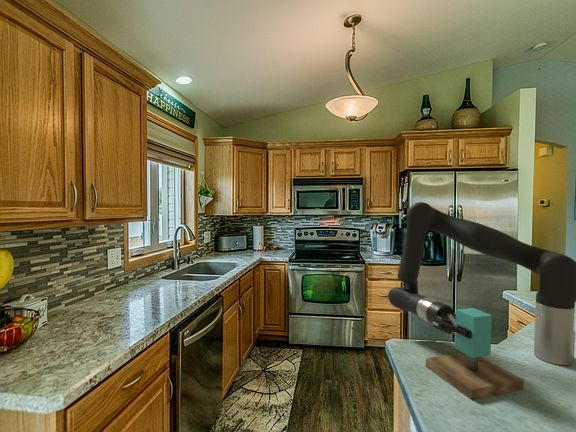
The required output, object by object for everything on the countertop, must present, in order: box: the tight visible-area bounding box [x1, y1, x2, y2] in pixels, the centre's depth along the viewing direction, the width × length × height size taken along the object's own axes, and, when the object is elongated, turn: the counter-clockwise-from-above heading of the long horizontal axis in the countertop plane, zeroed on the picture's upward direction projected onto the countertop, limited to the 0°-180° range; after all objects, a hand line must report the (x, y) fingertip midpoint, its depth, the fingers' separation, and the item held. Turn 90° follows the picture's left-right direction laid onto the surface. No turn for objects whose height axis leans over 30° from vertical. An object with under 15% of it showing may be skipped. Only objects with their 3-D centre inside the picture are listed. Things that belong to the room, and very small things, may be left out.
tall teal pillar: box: [454, 307, 493, 358], centre depth 85 cm, size 6×6×11 cm
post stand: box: [425, 352, 525, 400], centre depth 85 cm, size 17×16×12 cm
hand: (480, 333), depth 83 cm, fingers closed on tall teal pillar, 6 cm apart
